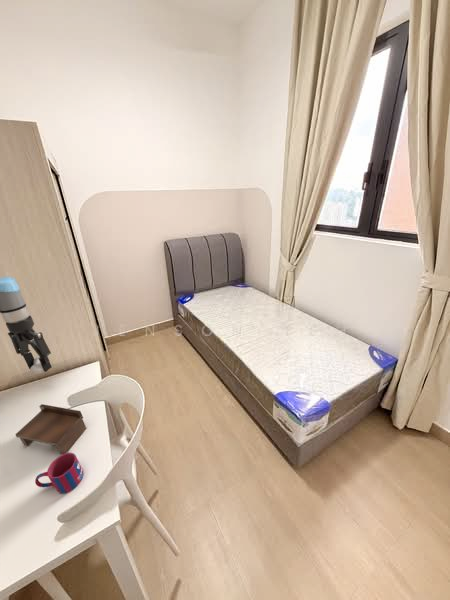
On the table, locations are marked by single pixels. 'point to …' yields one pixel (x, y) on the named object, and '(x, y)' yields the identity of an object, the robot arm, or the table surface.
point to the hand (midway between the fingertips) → (40, 368)
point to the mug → (63, 473)
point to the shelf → (54, 428)
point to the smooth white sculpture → (36, 367)
